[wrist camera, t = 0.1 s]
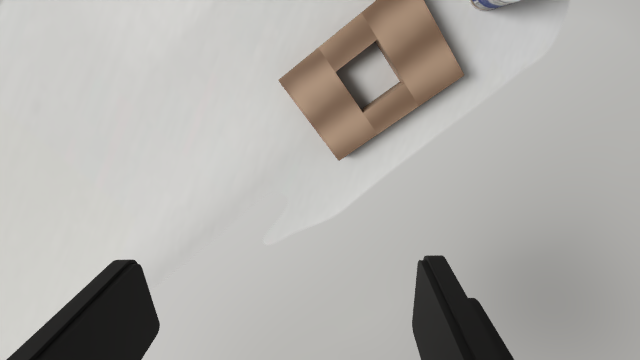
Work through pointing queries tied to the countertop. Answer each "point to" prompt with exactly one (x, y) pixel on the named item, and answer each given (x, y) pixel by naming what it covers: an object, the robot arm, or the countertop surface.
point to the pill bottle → (490, 4)
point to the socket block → (402, 55)
